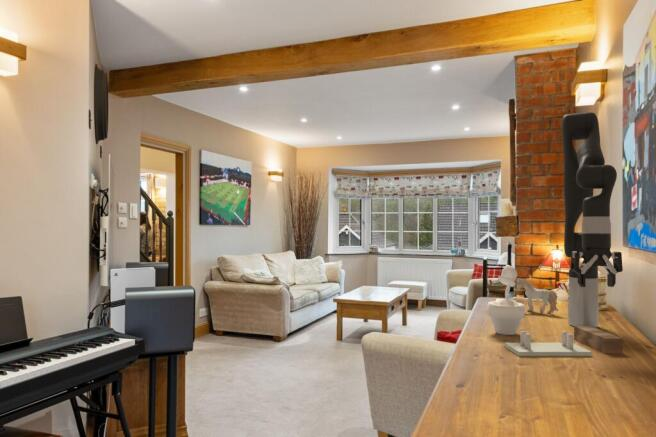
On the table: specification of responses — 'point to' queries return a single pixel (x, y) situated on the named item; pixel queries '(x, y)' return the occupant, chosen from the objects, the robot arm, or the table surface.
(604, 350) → the walnut shelf board
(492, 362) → the table surface
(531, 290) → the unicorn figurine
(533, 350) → the peg stand
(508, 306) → the potted plant
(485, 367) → the table surface
